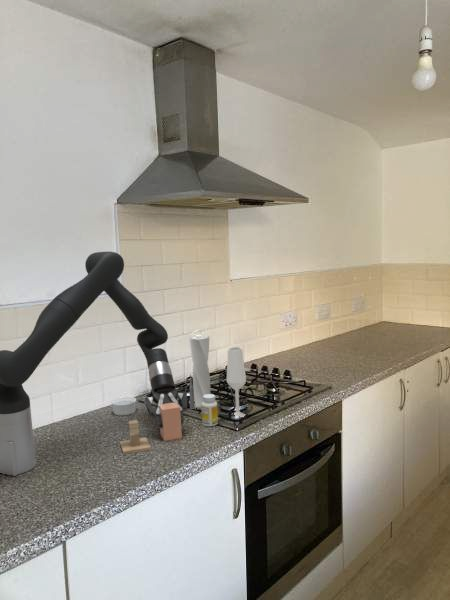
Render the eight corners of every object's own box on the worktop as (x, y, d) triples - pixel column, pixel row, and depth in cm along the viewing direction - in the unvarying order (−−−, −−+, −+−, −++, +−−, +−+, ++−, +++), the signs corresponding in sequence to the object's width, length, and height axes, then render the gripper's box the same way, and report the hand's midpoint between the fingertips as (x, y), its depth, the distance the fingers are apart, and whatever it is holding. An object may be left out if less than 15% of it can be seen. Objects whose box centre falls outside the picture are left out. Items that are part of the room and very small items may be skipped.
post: (150, 449, 147) (149, 424, 146) (123, 454, 144) (121, 428, 143) (146, 439, 154) (144, 415, 153) (120, 444, 152) (118, 419, 151)
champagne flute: (244, 421, 166) (242, 351, 163) (225, 419, 168) (222, 350, 165) (249, 414, 172) (247, 346, 169) (231, 412, 174) (228, 346, 171)
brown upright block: (181, 438, 154) (180, 407, 153) (164, 441, 153) (162, 409, 151) (177, 431, 160) (175, 401, 158) (160, 434, 158) (158, 404, 157)
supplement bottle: (202, 427, 162) (201, 399, 161) (201, 421, 168) (200, 393, 166) (218, 426, 163) (217, 397, 162) (217, 420, 168) (216, 392, 167)
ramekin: (131, 416, 175) (130, 405, 175) (108, 416, 177) (107, 404, 177) (140, 408, 184) (139, 396, 183) (118, 407, 186) (117, 396, 185)
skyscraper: (192, 401, 188) (188, 329, 184) (213, 401, 188) (209, 328, 184) (189, 409, 180) (185, 333, 176) (212, 408, 179) (208, 332, 176)
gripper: (140, 375, 158) (149, 424, 149) (184, 369, 163) (195, 416, 153) (138, 387, 164) (147, 434, 154) (180, 381, 169) (192, 426, 159)
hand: (171, 425), depth 154 cm, fingers closed on brown upright block, 5 cm apart
